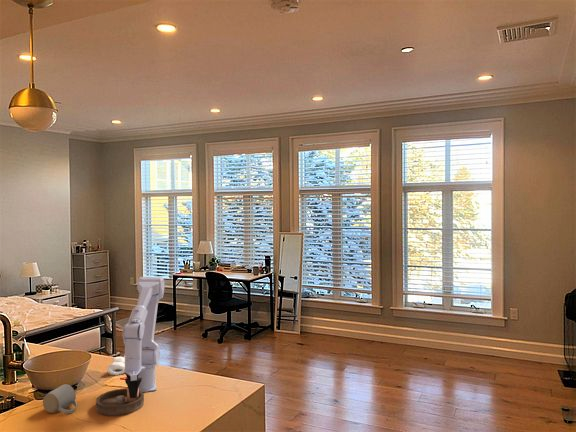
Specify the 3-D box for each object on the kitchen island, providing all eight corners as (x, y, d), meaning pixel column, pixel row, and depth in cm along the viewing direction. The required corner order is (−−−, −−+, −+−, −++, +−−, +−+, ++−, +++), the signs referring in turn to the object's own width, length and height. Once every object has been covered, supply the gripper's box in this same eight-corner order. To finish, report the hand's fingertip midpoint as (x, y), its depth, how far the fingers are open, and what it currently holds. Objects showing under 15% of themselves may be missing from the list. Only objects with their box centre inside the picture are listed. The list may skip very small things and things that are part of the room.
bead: (127, 399, 163) (127, 385, 163) (138, 398, 164) (138, 384, 164) (126, 404, 159) (127, 389, 159) (138, 402, 160) (138, 388, 160)
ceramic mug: (40, 412, 154) (41, 390, 154) (59, 403, 162) (59, 382, 162) (65, 417, 151) (65, 395, 151) (83, 408, 158) (83, 386, 158)
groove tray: (96, 400, 164) (97, 391, 164) (142, 394, 170) (142, 386, 170) (95, 419, 150) (95, 409, 150) (144, 412, 155) (144, 402, 155)
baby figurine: (108, 378, 188) (102, 359, 191) (120, 379, 199) (114, 361, 202) (127, 368, 188) (121, 350, 192) (138, 370, 200) (132, 352, 203)
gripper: (146, 361, 156) (145, 399, 156) (143, 349, 170) (143, 385, 170) (124, 363, 154) (124, 402, 154) (123, 351, 167) (123, 387, 167)
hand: (132, 393), depth 161 cm, fingers open, 7 cm apart
